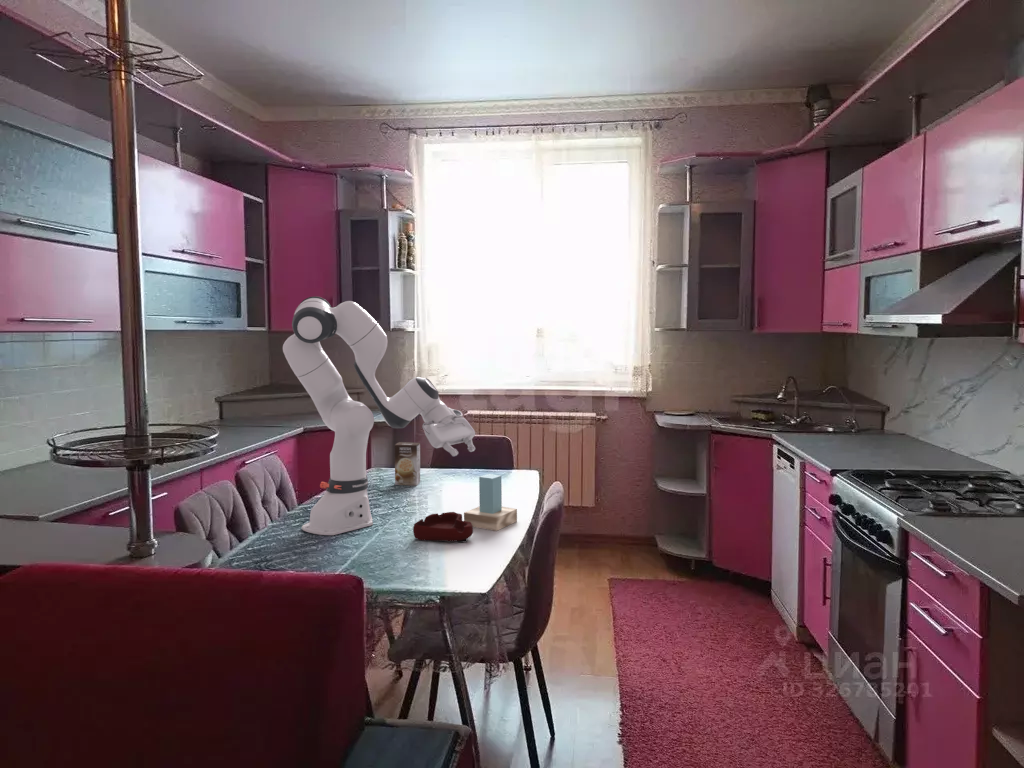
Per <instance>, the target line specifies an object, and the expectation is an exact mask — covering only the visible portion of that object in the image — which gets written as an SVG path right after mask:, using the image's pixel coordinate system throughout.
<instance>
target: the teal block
mask: <svg viewBox="0 0 1024 768" xmlns="http://www.w3.org/2000/svg"><path fill="white" fill-rule="evenodd" d="M478 482H479V483H478V485H479V486H478V488H479V491H478V493H479V494H478V495H479V496H478V497H479V500H478V501H479V506H480V512H485V513H491V514H494V513H496V512H498V511H501V510H502V507H503V506H502V505H503V503H502V495H503V494H502V487H503V486H502V475H500V474H499V475H498V474H492V473H491V474H490V473H486V474H483V475H481V476H479V477H478Z"/></svg>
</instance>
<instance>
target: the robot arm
mask: <svg viewBox="0 0 1024 768" xmlns="http://www.w3.org/2000/svg"><path fill="white" fill-rule="evenodd" d="M291 327H292V331H293V334H292V335H290V336H288V337H287V339H286V340H285V341H284V343H283V345H282V353H283V354H284V357H285V359H286V361H287V364H288V365H289V366H290V369H291V370H292V372H293V373H294V375H295V377H297V379H298V380H299V382H300V383H301V385H302V387H303V388H304V389H305V391H306V392H307V394H308V395H309V396H310V398H311V400H312V402H313V404H314V406H315V408H316V410H317V412H318V414H319V416H320V417H321V420H322V422H323V423H324V425H325V426H326V427H327V428H328V429H330V430H331V431H333V432H334V440H333V444H332V448H331V451H330V453H329V468H330V469H329V471H330V472H329V473H330V474H329V475H330V476H329V479H328V482H325V481H321V482H320V484H319V487H320V489H325V490H326V492H324V494H323V495H322V497H320V499H319V500H318V501H317V502H316V503H315V504H314V505H313V506H312V508H311V509H310V515H309V521H308V522H307V523H304V524H303V525H302V526H301V530H302V531H304V532H307V533H310V534H314V535H321V536H334V535H335V536H337V535H339V534H342V533H346V532H347V533H348V532H351V531H355V530H358V529H363V528H366V527H370V526H373V525H374V522H373V517H372V512H371V508H370V500H369V495H368V488H369V481H368V480H369V479H368V475H367V448H368V443H369V436H370V431H372V429H373V427H374V423H375V417H374V414H373V411H372V410H371V409H370V408H369V406H367V405H366V404H364V402H361V401H357V400H353V398H351V397H350V394H349V393H348V391H347V389H346V387H345V384H344V382H343V381H344V380H343V377H342V375H341V374H340V373H339V371H338V370H337V369H338V368H337V367H335V365H334V363H333V362H332V360H331V359H330V358H329V355H327V353H326V351H325V350H324V349H323V347H322V345H321V341H323V340H327V339H330V338H331V337H334V336H335V335H338V336H339V337H340V338H341V339H342V340H343V341H344V342H345V343H346V344H347V345H348V346H349V348H350V349H351V350H352V352H353V354H354V359H355V360H354V363H353V367H354V370H355V371H356V374H357V375H358V377H359V380H360V381H361V382H362V384H363V386H364V387H365V390H367V392H368V393H369V395H370V397H371V398H372V400H373V402H374V403H375V405H376V406H377V409H378V410H379V412H380V414H381V416H382V418H383V420H384V422H385V423H386V424H387V425H388V426H389V427H391V428H392V429H404V428H406V427H407V426H408V425H409V424H410V423H411V422H412V420H414V419H415V418H416V417H417V416H419V415H420V416H421V418H422V420H423V423H422V427H421V428H422V429H423V431H424V434H425V437H426V439H427V441H428V443H429V444H430V445H431V446H432V447H433V448H435V449H440V448H443V450H445V451H446V452H448V453H449V454H450V455H451V457H457V456H458V455H459V451H458V449H457V448H454V447H453V446H452V445H457V444H461V443H464V444H465V445H467V450H468V452H470V453H472V452H475V450H476V446H475V445H474V443H473V442H474V441H473V438H474V437H476V430H475V429H474V428H473V426H472V425H471V424H470V422H469V421H468V420H467V419H466V418H465V417H464V414H463V412H462V411H461V410H457V409H453V408H451V407H448V406H447V404H446V403H444V402H443V401H442V400H441V398H440V395H439V390H437V388H436V386H435V385H434V383H433V382H432V381H431V380H430V379H429V378H427V377H421V376H420V377H419V376H418V377H413V378H412V379H410V380H409V381H408V382H407V383H406V384H405V385H404V386H403V387H401V389H399V391H398V392H396V393H395V394H394V395H392V396H390V397H388V396H387V395H386V392H385V391H384V390H383V388H382V387H381V385H380V384H379V381H378V380H377V378H376V371H377V368H378V366H379V365H380V362H381V361H382V359H383V357H384V356H385V354H386V351H387V348H388V341H389V340H388V336H387V334H386V332H385V331H384V329H383V328H382V327H381V325H380V324H379V323H378V321H376V320H375V318H374V317H373V316H372V315H371V314H370V313H369V312H368V311H367V310H366V309H364V308H363V307H362V306H361V305H359V304H358V303H357V302H356V301H352V300H346V301H344V302H341V303H339V304H338V305H337V306H335V307H332V306H331V304H330V303H329V301H327V300H326V299H325V298H323V297H321V296H317V295H315V296H309V297H307V298H305V299H303V300H302V301H301V302H300V303H299V304H298V306H297V307H296V308H295V310H294V313H293V317H292V321H291Z"/></svg>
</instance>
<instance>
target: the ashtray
mask: <svg viewBox="0 0 1024 768" xmlns="http://www.w3.org/2000/svg"><path fill="white" fill-rule="evenodd" d="M412 532H413V536H414V538H415V539H417V541H427V542H428V541H429V542H430V541H431V542H432V541H433V542H458V543H464V542H467V540H468V539H469V538H470V537H471V536H472V535H473V533H474V527H473V526H472V523H471V522H468V521H464V520H463V515H462V514H461V513H458V512H455V511H448V512H442V513H441V514H438V513H432V514H429V515H427V516H425V518H424V519H423V518H422V519H420V520H418V521H417V522H415V523H414V524H413V528H412Z"/></svg>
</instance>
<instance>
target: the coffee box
mask: <svg viewBox="0 0 1024 768" xmlns="http://www.w3.org/2000/svg"><path fill="white" fill-rule="evenodd" d="M420 483H421V442H407V441H406V442H405V441H399V442H397V443H395V444H394V486H415V487H417V486H418V485H419V484H420Z"/></svg>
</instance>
